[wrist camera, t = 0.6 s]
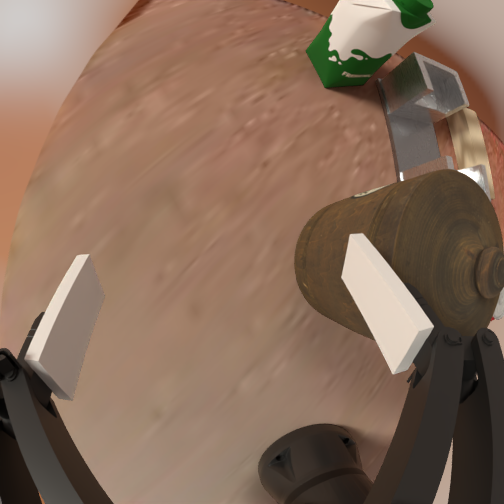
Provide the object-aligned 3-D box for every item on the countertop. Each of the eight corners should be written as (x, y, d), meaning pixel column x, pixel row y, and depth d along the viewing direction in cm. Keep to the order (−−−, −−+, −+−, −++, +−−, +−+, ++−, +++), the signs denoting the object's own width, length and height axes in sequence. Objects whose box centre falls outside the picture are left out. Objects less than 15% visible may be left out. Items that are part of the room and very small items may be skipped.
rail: (475, 202, 38) (495, 198, 33) (462, 201, 38) (483, 197, 33) (458, 120, 38) (475, 112, 33) (444, 115, 37) (462, 106, 32)
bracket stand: (445, 218, 37) (493, 213, 27) (401, 219, 35) (452, 211, 25) (420, 93, 36) (456, 69, 26) (375, 80, 35) (410, 48, 25)
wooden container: (409, 239, 35) (545, 233, 14) (364, 336, 34) (494, 402, 13) (327, 178, 33) (462, 106, 12) (270, 287, 32) (383, 351, 11)
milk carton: (321, 94, 33) (401, 0, 13) (297, 46, 33) (350, -51, 13) (370, 90, 34) (454, 19, 15) (345, 45, 34) (408, -33, 14)
